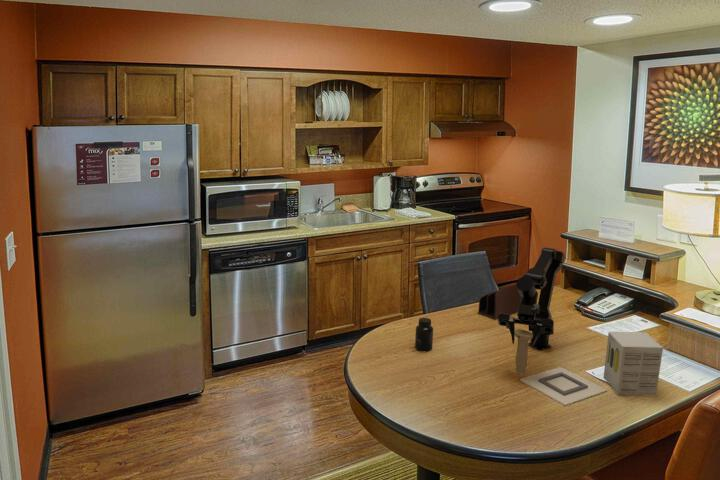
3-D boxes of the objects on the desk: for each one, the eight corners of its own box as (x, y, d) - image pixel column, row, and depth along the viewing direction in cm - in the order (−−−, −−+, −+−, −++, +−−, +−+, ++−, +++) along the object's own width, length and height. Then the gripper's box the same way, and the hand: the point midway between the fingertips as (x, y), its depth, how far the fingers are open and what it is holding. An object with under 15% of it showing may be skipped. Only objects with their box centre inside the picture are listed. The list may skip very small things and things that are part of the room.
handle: (523, 378, 202) (526, 337, 198) (508, 371, 207) (511, 331, 203) (532, 374, 204) (535, 334, 201) (517, 367, 209) (520, 328, 206)
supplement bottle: (412, 350, 228) (413, 321, 225) (417, 343, 234) (418, 315, 231) (429, 353, 225) (431, 324, 223) (434, 346, 232) (435, 318, 229)
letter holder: (523, 311, 271) (525, 282, 268) (495, 320, 260) (497, 290, 256) (505, 305, 279) (507, 276, 276) (477, 314, 267) (479, 284, 264)
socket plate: (560, 368, 214) (560, 364, 213) (606, 391, 197) (607, 388, 197) (519, 380, 204) (520, 376, 204) (564, 406, 187) (565, 402, 187)
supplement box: (602, 376, 207) (607, 330, 203) (639, 377, 207) (646, 331, 203) (617, 395, 195) (623, 346, 190) (657, 396, 194) (664, 347, 190)
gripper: (500, 290, 205) (493, 331, 198) (555, 297, 199) (550, 340, 192) (502, 304, 215) (495, 344, 207) (555, 311, 208) (550, 352, 201)
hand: (522, 345), depth 202 cm, fingers closed on handle, 6 cm apart
